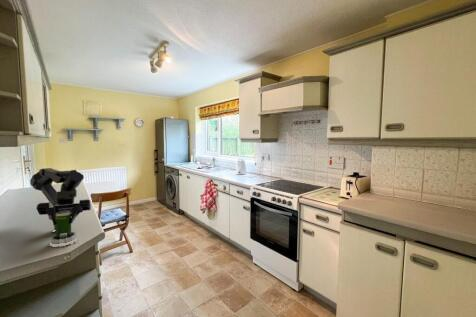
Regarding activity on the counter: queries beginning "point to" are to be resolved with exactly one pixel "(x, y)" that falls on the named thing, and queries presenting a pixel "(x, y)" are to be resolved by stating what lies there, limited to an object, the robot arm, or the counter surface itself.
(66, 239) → the duct collar
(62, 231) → the beer can
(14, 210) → the counter surface
